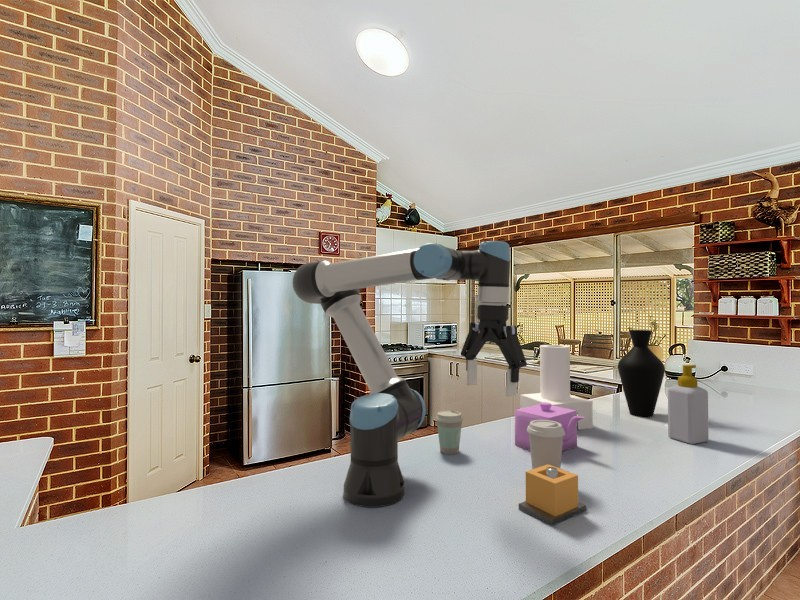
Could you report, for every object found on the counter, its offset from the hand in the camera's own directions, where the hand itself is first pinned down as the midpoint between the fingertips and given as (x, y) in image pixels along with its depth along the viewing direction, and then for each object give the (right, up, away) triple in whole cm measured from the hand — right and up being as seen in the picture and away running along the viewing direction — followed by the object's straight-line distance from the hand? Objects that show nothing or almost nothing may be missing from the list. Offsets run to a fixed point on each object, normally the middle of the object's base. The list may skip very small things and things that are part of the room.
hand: (490, 390), depth 108 cm
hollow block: (+12, -24, -9) cm, 28 cm away
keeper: (+12, -25, -10) cm, 29 cm away
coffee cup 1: (-7, -26, +30) cm, 40 cm away
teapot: (+26, -26, +33) cm, 50 cm away
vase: (+78, -26, +72) cm, 109 cm away
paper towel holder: (+38, -26, +60) cm, 76 cm away
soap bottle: (+75, -25, +40) cm, 89 cm away
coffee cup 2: (+16, -25, +6) cm, 31 cm away
